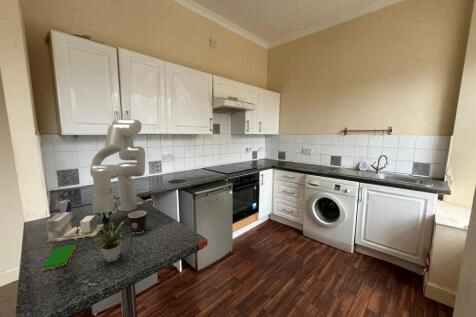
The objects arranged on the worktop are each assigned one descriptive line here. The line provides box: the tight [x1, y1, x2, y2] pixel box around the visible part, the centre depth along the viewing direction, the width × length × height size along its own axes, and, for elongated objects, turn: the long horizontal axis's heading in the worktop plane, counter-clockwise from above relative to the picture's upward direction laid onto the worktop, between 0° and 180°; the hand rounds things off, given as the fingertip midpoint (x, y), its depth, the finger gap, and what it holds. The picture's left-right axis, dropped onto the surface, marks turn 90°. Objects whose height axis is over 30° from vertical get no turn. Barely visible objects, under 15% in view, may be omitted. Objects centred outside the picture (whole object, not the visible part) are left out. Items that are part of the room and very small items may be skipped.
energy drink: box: [58, 199, 74, 221], centre depth 118 cm, size 5×5×12 cm
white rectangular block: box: [79, 214, 98, 234], centre depth 105 cm, size 4×10×6 cm, turn 15°
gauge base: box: [46, 212, 105, 243], centre depth 104 cm, size 20×12×10 cm, turn 105°
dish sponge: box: [42, 244, 76, 270], centre depth 85 cm, size 7×14×2 cm, turn 26°
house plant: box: [92, 220, 126, 259], centre depth 84 cm, size 14×14×16 cm
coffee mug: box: [121, 210, 147, 233], centre depth 107 cm, size 12×9×10 cm
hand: (106, 223), depth 108 cm, fingers closed
